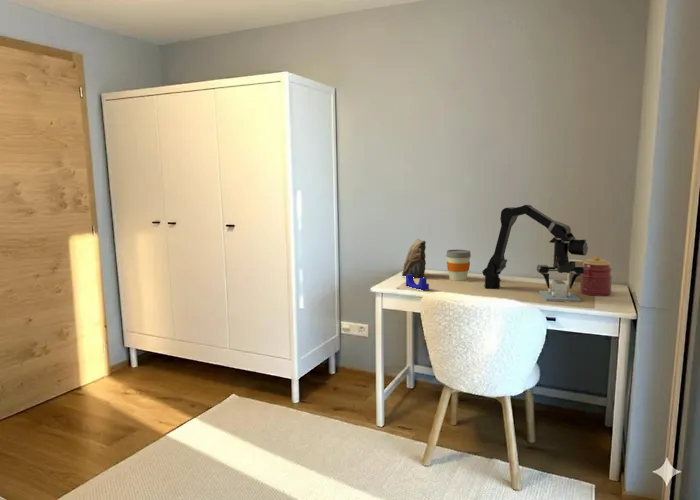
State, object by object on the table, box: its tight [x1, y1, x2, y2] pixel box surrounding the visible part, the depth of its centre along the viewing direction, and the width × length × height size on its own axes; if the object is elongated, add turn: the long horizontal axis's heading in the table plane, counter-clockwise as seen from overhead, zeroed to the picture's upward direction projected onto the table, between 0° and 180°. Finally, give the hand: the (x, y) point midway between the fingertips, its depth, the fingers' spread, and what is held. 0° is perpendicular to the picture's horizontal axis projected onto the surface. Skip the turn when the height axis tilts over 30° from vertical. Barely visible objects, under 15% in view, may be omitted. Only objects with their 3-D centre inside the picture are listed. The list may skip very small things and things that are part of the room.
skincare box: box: [566, 259, 584, 287], centre depth 251 cm, size 6×4×12 cm
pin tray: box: [538, 287, 582, 303], centre depth 226 cm, size 14×16×3 cm
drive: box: [551, 279, 568, 297], centre depth 225 cm, size 4×9×6 cm, turn 171°
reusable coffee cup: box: [445, 249, 472, 282], centre depth 268 cm, size 13×13×15 cm
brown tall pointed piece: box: [401, 238, 427, 279], centre depth 276 cm, size 13×13×20 cm
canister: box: [579, 254, 613, 297], centre depth 232 cm, size 13×13×18 cm
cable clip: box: [405, 274, 430, 291], centre depth 248 cm, size 12×4×6 cm, turn 31°
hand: (559, 288), depth 225 cm, fingers open, 9 cm apart
